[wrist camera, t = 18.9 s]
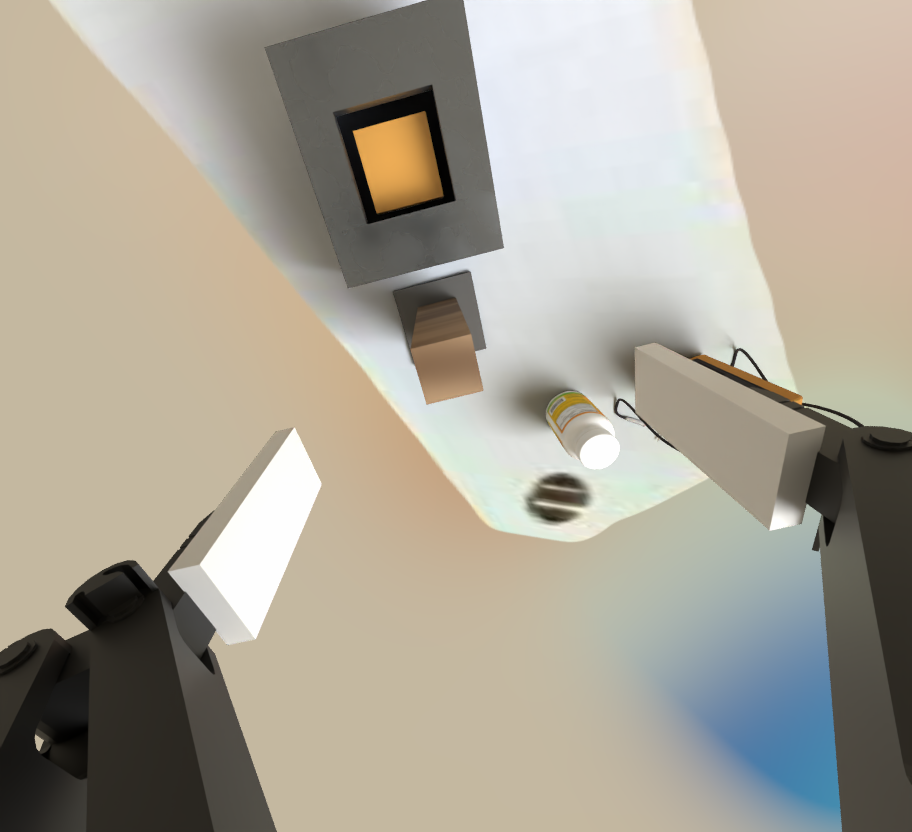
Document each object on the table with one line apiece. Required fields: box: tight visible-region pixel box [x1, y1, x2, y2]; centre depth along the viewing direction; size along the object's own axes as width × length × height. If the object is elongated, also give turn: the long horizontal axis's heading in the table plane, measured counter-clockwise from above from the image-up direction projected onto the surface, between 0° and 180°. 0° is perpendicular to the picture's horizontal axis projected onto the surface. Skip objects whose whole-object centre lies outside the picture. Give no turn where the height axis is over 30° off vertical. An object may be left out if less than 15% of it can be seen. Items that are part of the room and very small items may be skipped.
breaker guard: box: [265, 0, 504, 288], centre depth 30 cm, size 14×12×10 cm
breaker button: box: [353, 111, 444, 215], centre depth 30 cm, size 5×5×6 cm
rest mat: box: [393, 272, 486, 364], centre depth 39 cm, size 8×8×1 cm
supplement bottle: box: [546, 391, 619, 469], centre depth 41 cm, size 5×5×10 cm
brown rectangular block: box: [410, 298, 483, 404], centre depth 32 cm, size 4×4×16 cm
